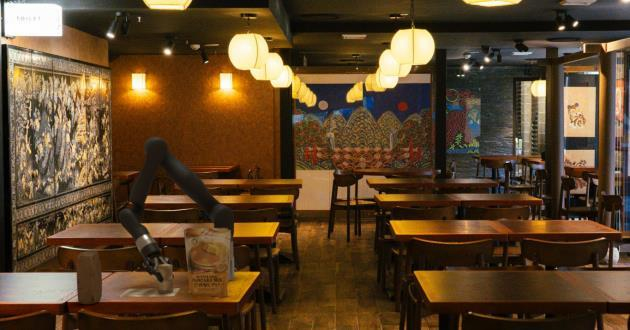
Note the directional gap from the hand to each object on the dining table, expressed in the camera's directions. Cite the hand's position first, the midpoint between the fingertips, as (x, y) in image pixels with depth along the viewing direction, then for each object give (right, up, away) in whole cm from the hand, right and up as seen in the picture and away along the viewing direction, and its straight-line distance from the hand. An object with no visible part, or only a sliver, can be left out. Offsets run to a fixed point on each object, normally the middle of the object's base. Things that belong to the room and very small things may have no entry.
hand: (167, 280), depth 309 cm
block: (-29, -8, -6) cm, 31 cm away
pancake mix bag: (+17, -7, 0) cm, 18 cm away
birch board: (-7, -7, +2) cm, 10 cm away
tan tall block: (-1, -5, +1) cm, 5 cm away
